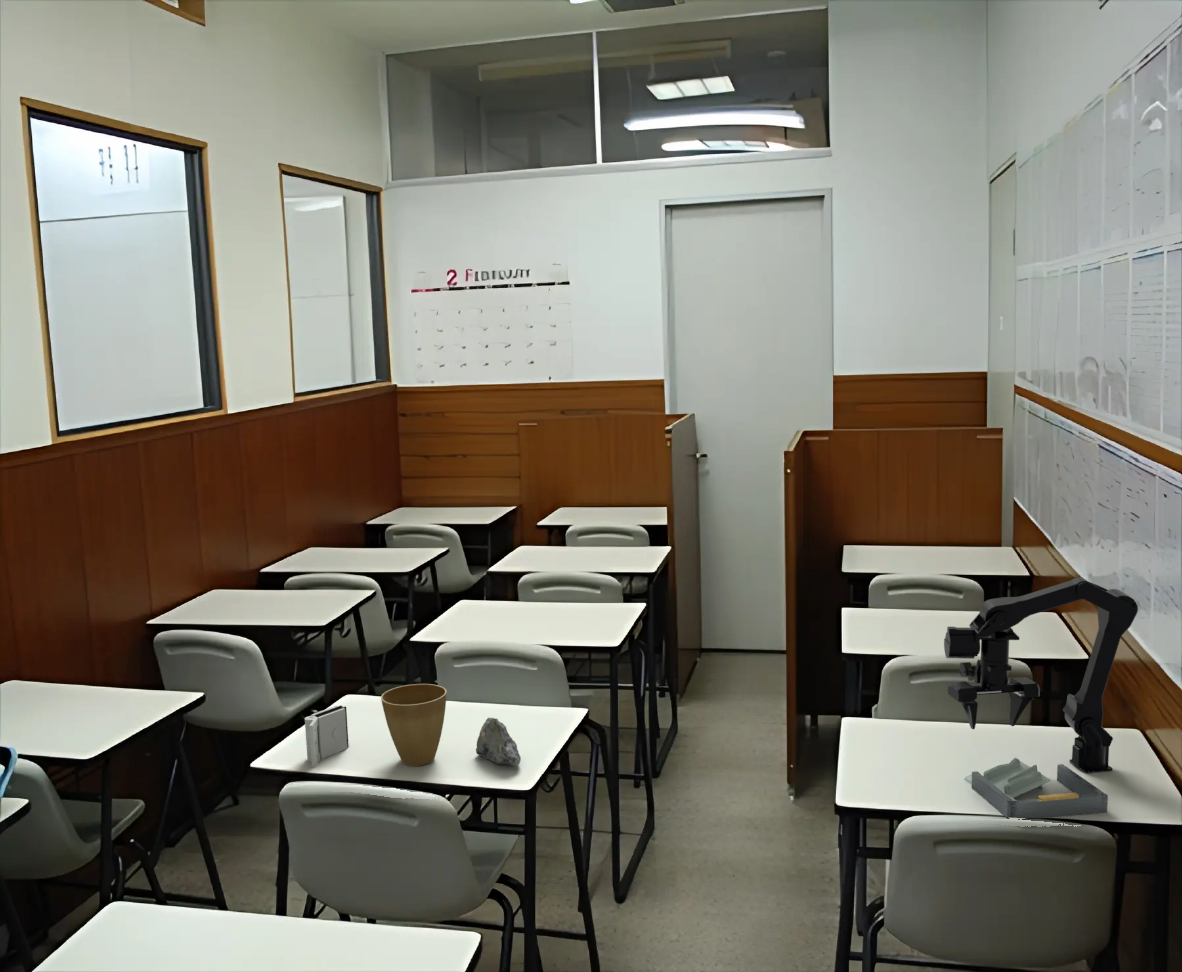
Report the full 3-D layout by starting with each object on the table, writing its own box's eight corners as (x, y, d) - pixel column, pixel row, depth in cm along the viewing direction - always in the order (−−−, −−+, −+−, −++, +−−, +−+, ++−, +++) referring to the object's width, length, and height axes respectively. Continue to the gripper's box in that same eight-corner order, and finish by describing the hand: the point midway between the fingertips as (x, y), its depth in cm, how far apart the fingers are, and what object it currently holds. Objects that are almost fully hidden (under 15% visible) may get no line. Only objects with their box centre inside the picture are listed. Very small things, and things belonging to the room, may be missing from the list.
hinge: (337, 766, 252) (334, 725, 250) (301, 767, 252) (299, 726, 250) (349, 745, 265) (347, 705, 263) (315, 746, 265) (313, 706, 263)
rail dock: (1062, 779, 234) (1062, 761, 233) (1107, 812, 218) (1108, 792, 218) (971, 787, 231) (971, 769, 231) (1010, 821, 215) (1011, 801, 215)
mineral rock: (520, 772, 246) (518, 729, 244) (472, 774, 246) (470, 731, 244) (522, 750, 259) (521, 709, 257) (477, 752, 258) (475, 711, 257)
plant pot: (448, 745, 263) (445, 680, 260) (450, 769, 248) (447, 701, 246) (385, 750, 260) (381, 685, 258) (383, 775, 246) (379, 706, 244)
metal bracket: (1014, 747, 238) (1058, 774, 223) (1020, 771, 239) (1065, 799, 225) (956, 773, 235) (998, 801, 221) (963, 797, 236) (1004, 827, 222)
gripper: (1015, 645, 248) (1013, 711, 251) (937, 650, 246) (935, 717, 248) (1042, 659, 237) (1039, 729, 240) (960, 665, 235) (958, 735, 237)
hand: (992, 727), depth 241 cm, fingers open, 9 cm apart
